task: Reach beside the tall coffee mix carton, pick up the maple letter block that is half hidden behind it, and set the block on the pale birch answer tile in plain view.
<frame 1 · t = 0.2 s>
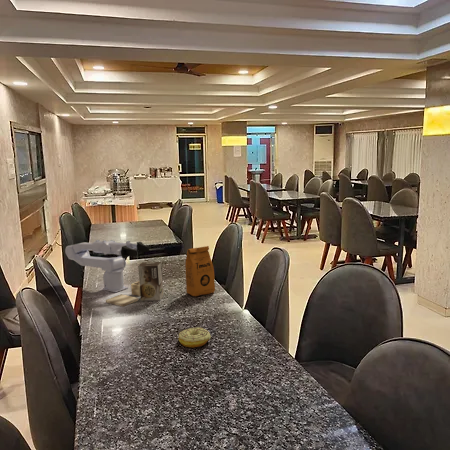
hand: (142, 251, 184), 21 cm above the table, tool horizontal, fingers open, 7 cm apart
answer tile: (122, 301, 181), on the table
letter block: (139, 293, 191), on the table
coffee box: (152, 298, 184), on the table
decorated donut: (194, 342, 139), on the table
coffee package: (200, 293, 188), on the table
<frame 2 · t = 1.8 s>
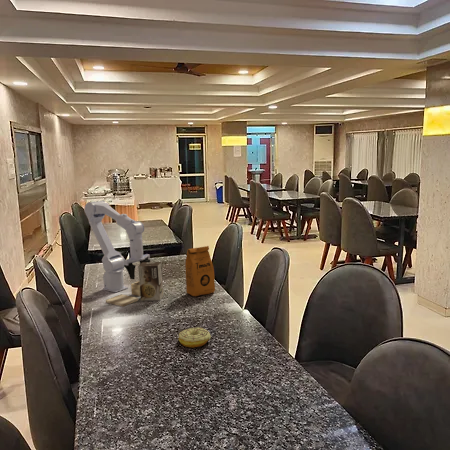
hand: (138, 276, 189), 8 cm above the table, tool pointing down, fingers open, 7 cm apart
nothing on the table moved.
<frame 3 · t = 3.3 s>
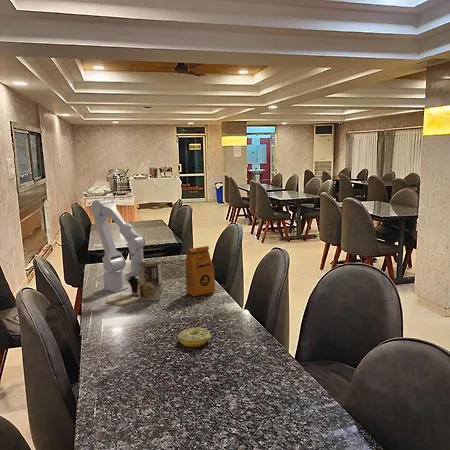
hand: (139, 290, 191), 1 cm above the table, tool pointing down, fingers closed on letter block, 5 cm apart
letter block: (139, 293, 191), on the table, touching gripper
everything else where it was.
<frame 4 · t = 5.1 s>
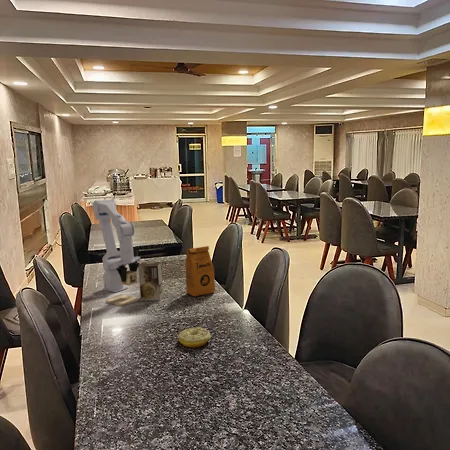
hand: (128, 279, 184), 8 cm above the table, tool pointing down, fingers closed on letter block, 5 cm apart
letter block: (129, 283, 184), point 7 cm above the table, touching gripper
everything else where it was.
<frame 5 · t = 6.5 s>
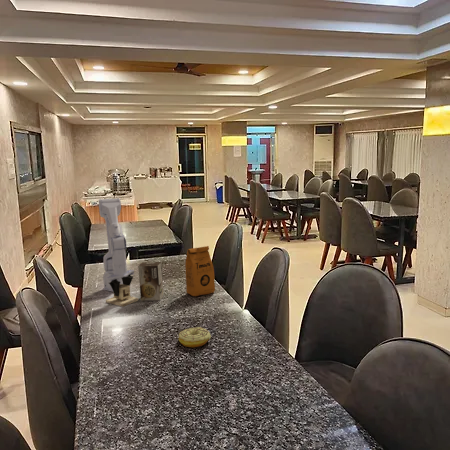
hand: (121, 293, 180), 3 cm above the table, tool pointing down, fingers closed on letter block, 5 cm apart
letter block: (122, 297, 180), point 2 cm above the table, touching gripper
everything else where it was.
when the fingers open (3 cm above the table, at t = 7.3 s): letter block stays where it is, resting on answer tile.
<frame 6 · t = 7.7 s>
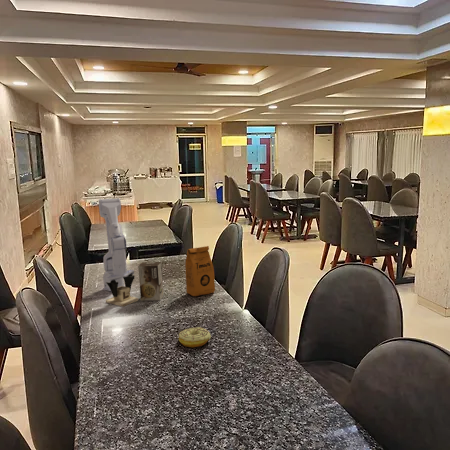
hand: (121, 293, 180), 3 cm above the table, tool pointing down, fingers open, 7 cm apart
letter block: (122, 299, 181), point 1 cm above the table, touching answer tile
everything else where it was.
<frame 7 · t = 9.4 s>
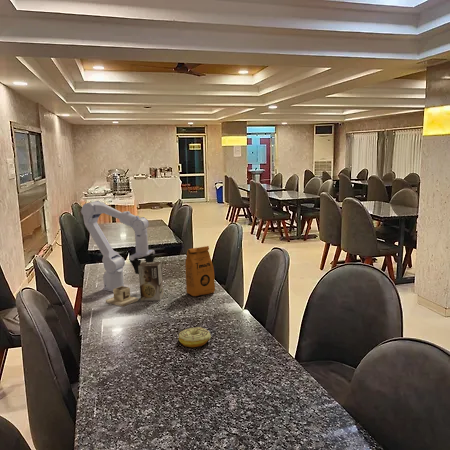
hand: (143, 271, 193), 9 cm above the table, tool pointing down, fingers open, 7 cm apart
nothing on the table moved.
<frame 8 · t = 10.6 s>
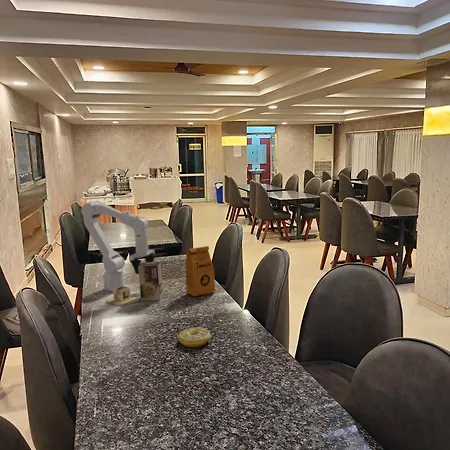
hand: (143, 271, 193), 9 cm above the table, tool pointing down, fingers open, 7 cm apart
nothing on the table moved.
at the end: letter block inside the target area on the answer tile (0.1 cm from its centre), point 1.0 cm above the answer tile's base; letter block tilted 0°; coffee box moved 0.2 cm from its start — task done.
